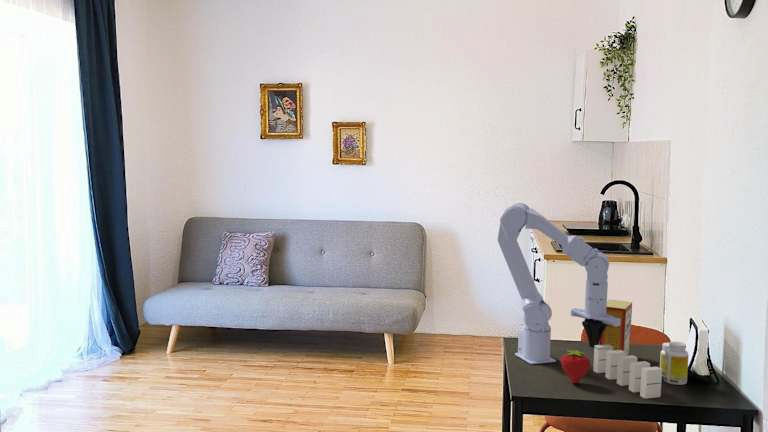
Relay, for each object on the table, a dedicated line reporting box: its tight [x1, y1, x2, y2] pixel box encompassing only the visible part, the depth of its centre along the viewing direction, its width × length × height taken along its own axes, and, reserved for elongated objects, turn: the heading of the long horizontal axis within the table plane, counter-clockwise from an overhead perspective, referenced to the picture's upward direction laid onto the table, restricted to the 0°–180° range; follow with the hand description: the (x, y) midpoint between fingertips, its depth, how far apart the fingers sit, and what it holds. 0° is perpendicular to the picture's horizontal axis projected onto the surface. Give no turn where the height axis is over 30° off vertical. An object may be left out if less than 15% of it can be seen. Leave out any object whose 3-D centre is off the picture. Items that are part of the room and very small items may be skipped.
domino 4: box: [639, 366, 663, 399], centre depth 188 cm, size 2×4×7 cm, turn 108°
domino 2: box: [616, 354, 638, 387], centre depth 197 cm, size 2×4×7 cm, turn 109°
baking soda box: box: [599, 299, 633, 356], centre depth 218 cm, size 10×6×16 cm
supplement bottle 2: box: [663, 341, 689, 386], centre depth 198 cm, size 6×6×10 cm
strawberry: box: [560, 349, 591, 384], centre depth 196 cm, size 6×8×10 cm
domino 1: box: [604, 350, 625, 381], centre depth 201 cm, size 2×4×7 cm, turn 109°
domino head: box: [592, 344, 613, 374], centre depth 207 cm, size 2×4×7 cm, turn 108°
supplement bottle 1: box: [659, 342, 670, 378], centre depth 204 cm, size 5×5×8 cm
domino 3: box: [628, 360, 651, 393], centre depth 192 cm, size 2×4×7 cm, turn 108°
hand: (593, 346), depth 211 cm, fingers closed
